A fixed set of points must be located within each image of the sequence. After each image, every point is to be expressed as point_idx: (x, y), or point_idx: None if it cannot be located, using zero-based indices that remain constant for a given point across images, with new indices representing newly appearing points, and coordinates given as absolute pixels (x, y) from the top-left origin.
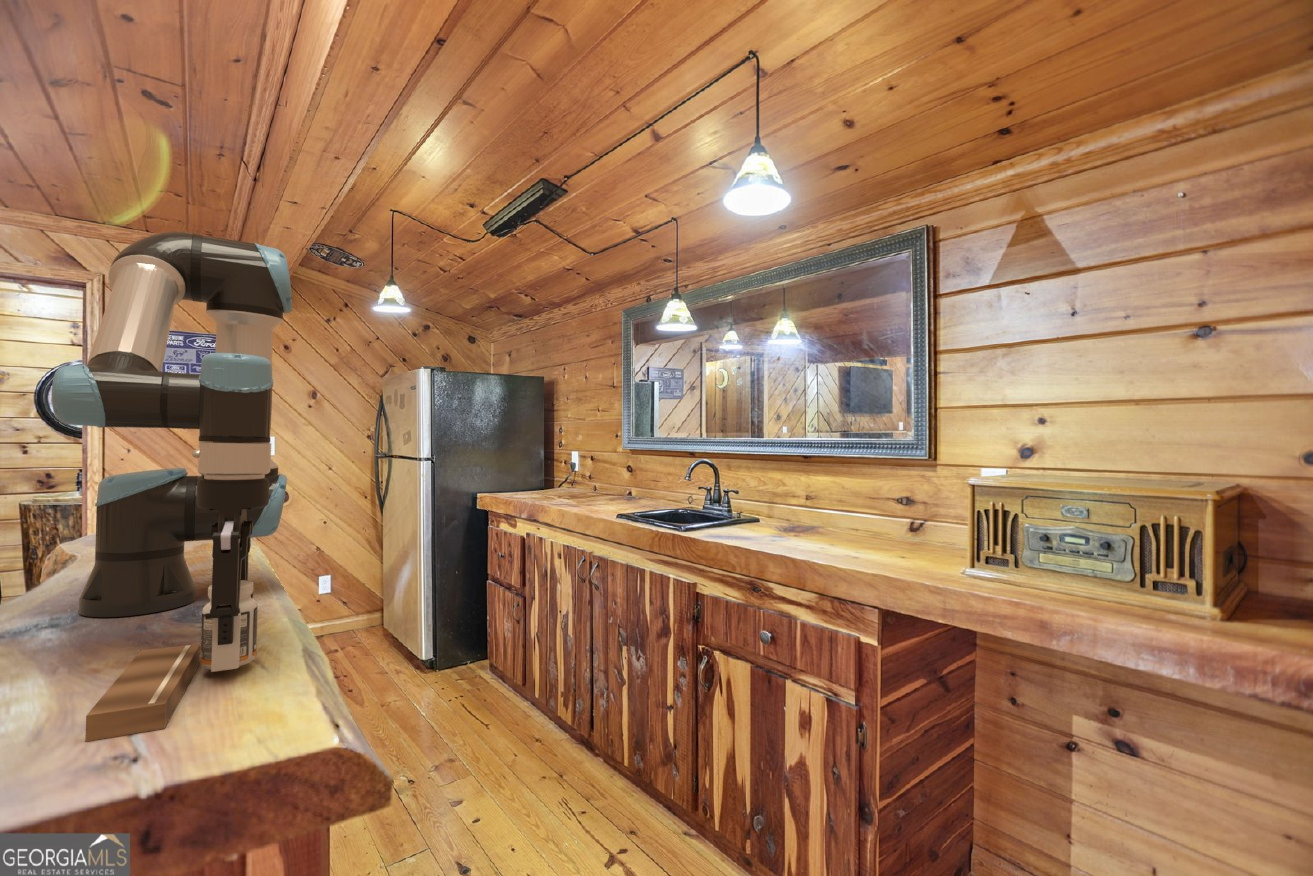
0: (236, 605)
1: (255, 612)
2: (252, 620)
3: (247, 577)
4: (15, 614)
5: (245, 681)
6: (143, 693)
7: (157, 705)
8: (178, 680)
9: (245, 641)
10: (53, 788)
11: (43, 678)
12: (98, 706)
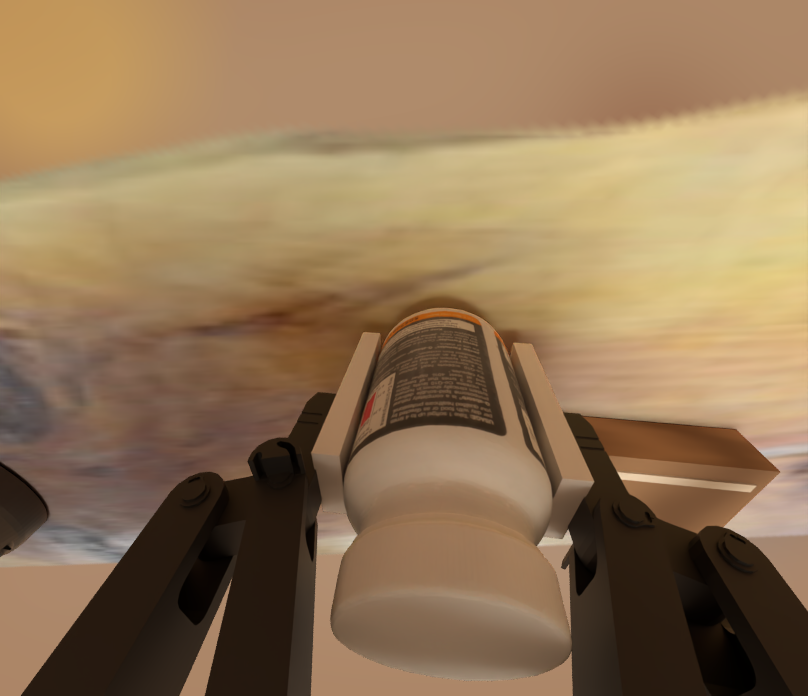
0: (776, 585)
1: (489, 415)
2: (504, 401)
3: (153, 553)
4: (46, 563)
5: (552, 313)
6: (660, 496)
7: (768, 479)
8: (624, 458)
9: (509, 370)
10: None
11: (342, 536)
12: None
